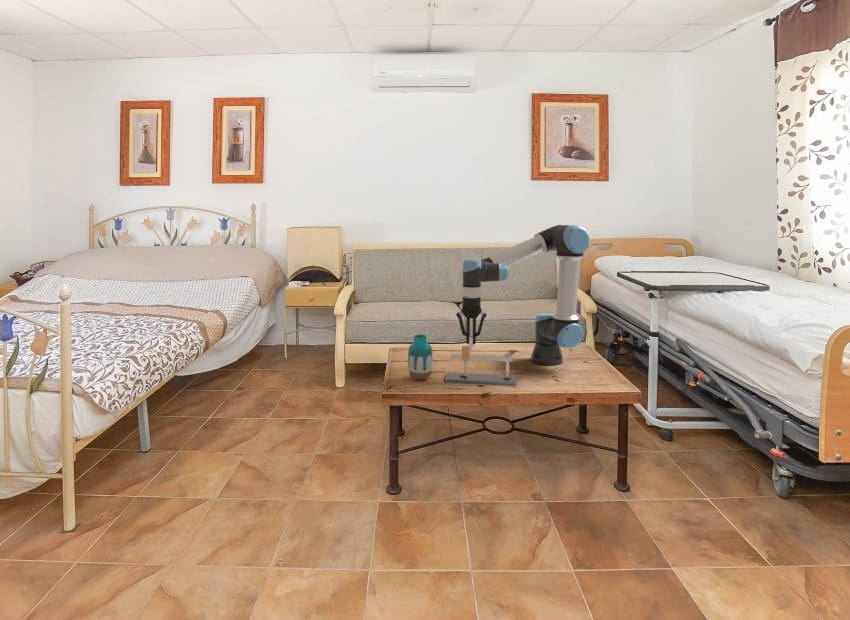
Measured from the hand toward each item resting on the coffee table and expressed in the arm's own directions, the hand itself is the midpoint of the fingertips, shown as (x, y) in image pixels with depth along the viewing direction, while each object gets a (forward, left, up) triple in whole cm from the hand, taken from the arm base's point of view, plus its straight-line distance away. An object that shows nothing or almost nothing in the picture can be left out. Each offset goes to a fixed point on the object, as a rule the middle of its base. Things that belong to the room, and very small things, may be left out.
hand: (471, 351), depth 224 cm
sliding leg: (+2, 0, -11) cm, 11 cm away
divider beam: (-4, 0, -11) cm, 12 cm away
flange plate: (-4, 0, -12) cm, 13 cm away
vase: (+22, +2, -13) cm, 25 cm away
